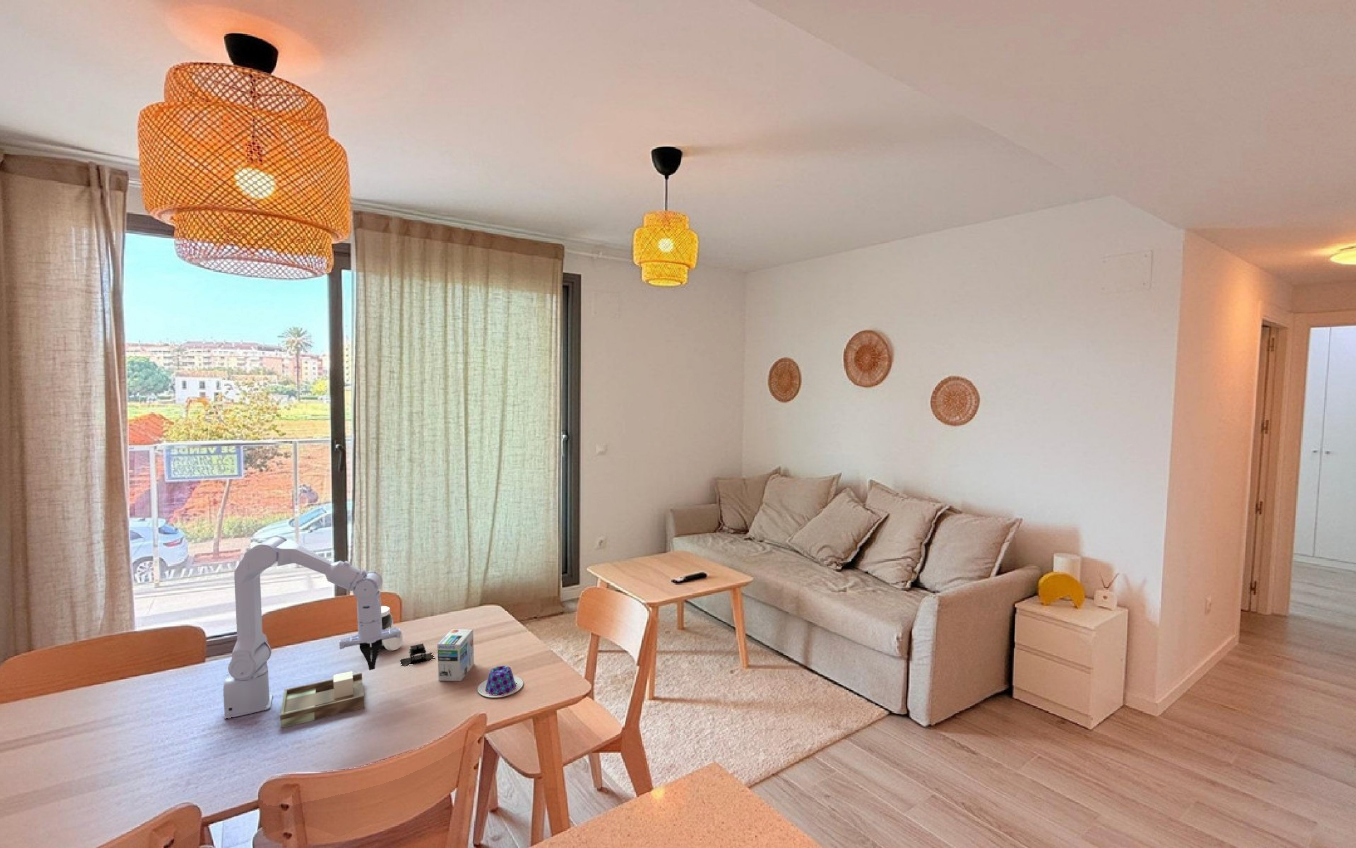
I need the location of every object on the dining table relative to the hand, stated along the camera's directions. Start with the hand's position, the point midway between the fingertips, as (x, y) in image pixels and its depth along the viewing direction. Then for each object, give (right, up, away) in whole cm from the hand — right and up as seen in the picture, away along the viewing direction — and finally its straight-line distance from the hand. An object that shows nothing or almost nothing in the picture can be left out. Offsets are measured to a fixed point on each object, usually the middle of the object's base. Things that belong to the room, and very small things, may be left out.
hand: (371, 668), depth 160 cm
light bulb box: (+18, -6, +12) cm, 23 cm away
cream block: (-6, -5, -3) cm, 8 cm away
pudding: (+34, -7, +4) cm, 35 cm away
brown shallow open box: (-10, -7, -5) cm, 13 cm away
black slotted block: (+4, -6, +20) cm, 21 cm away
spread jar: (-11, -5, +29) cm, 31 cm away
